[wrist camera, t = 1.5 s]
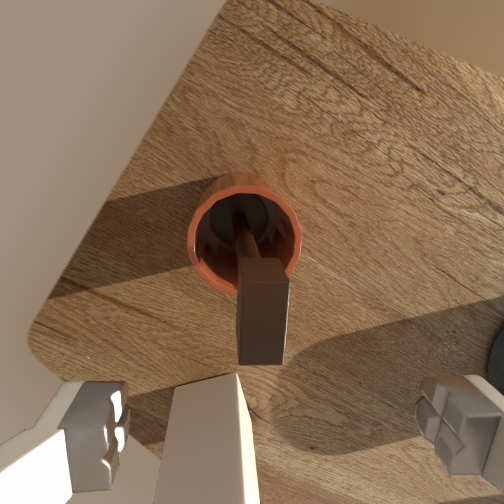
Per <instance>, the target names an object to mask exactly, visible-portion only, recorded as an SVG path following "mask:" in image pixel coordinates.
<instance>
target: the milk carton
mask: <svg viewBox="0 0 504 504" xmlns="http://www.w3.org/2000/svg"><path fill="white" fill-rule="evenodd" d="M153 504H260V502H259V492H258V482H257V473H256V463H255V454H254V444H253V434H252V425H251V419H250V416H249V412H248V409H247V405H246V402H245V398H244V395H243V392H242V388H241V385H240V381H239V378H238V374H237V373H231V374H227V375H223V376H219V377H215V378H211V379H206V380H202V381H198V382H194V383H190V384H186V385H182V386H178V387H176V388H175V390H174V395H173V400H172V406H171V411H170V416H169V421H168V427H167V432H166V437H165V442H164V447H163V453H162V458H161V464H160V468H159V474H158V479H157V485H156V490H155V495H154V500H153Z"/></svg>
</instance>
